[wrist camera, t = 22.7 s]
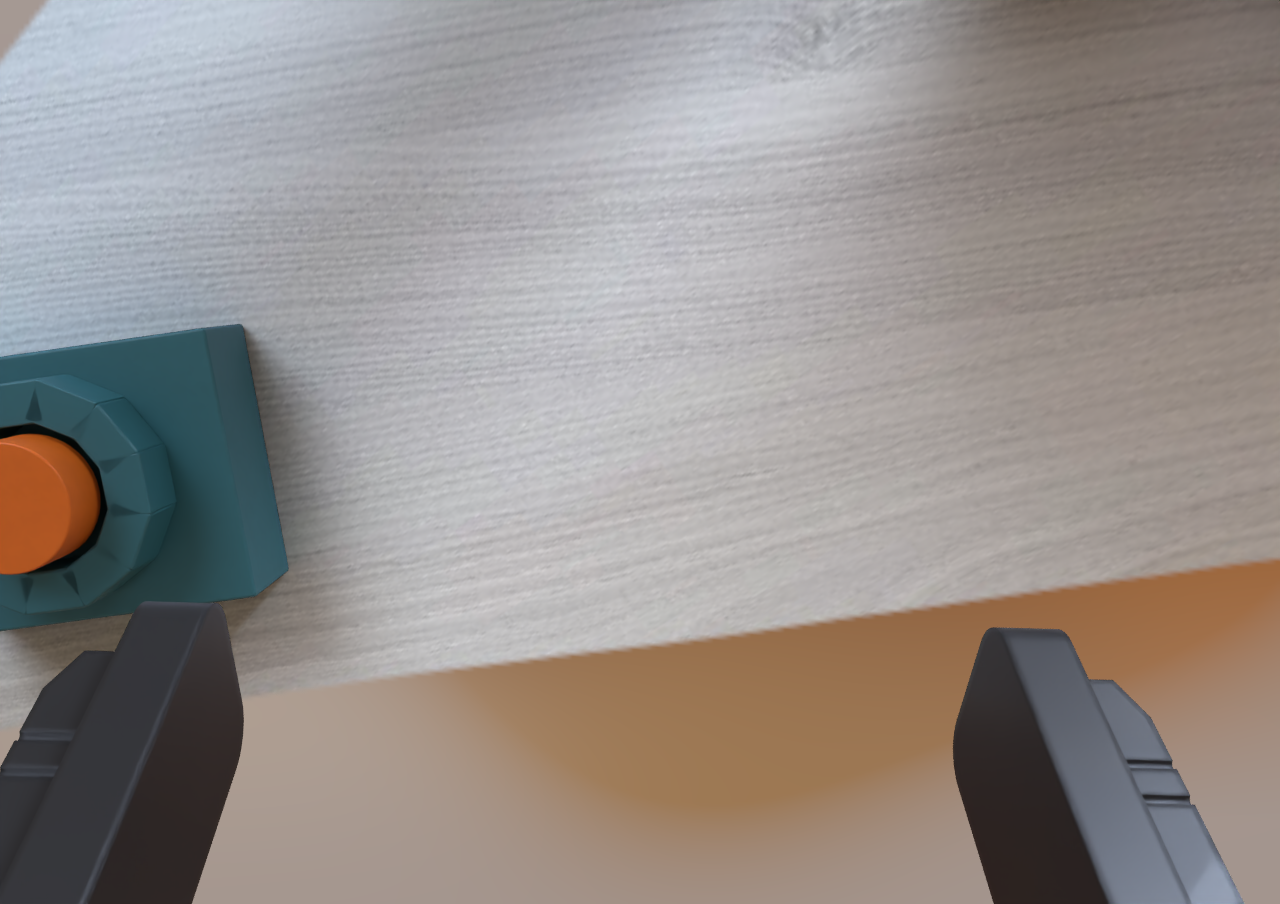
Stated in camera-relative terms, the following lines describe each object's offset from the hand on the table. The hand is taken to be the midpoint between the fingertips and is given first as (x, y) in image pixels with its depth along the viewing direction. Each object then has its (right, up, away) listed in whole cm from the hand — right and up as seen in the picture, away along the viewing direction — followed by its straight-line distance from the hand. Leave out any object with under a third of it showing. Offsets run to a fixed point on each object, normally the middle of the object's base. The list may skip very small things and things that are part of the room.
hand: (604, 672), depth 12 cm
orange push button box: (-16, +2, +25) cm, 30 cm away
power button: (-17, +1, +20) cm, 26 cm away
